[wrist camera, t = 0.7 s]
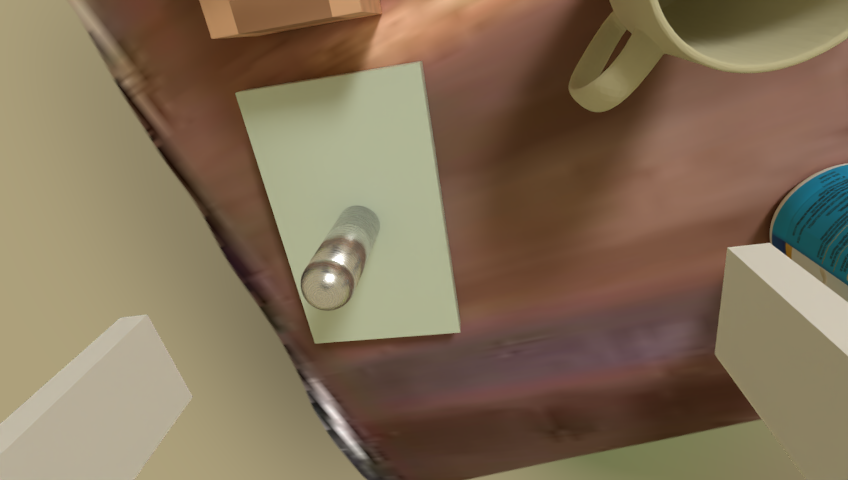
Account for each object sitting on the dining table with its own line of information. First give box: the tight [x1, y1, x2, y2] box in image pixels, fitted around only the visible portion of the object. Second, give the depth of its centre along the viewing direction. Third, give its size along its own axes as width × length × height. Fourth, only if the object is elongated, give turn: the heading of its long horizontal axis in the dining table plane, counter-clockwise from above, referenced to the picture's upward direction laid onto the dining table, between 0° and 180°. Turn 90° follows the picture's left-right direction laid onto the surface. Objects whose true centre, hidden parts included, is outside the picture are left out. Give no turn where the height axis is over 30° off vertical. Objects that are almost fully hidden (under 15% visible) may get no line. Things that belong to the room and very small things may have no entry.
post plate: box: [235, 61, 460, 344], centre depth 33 cm, size 20×12×2 cm, turn 9°
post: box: [301, 205, 380, 311], centre depth 28 cm, size 3×3×10 cm
